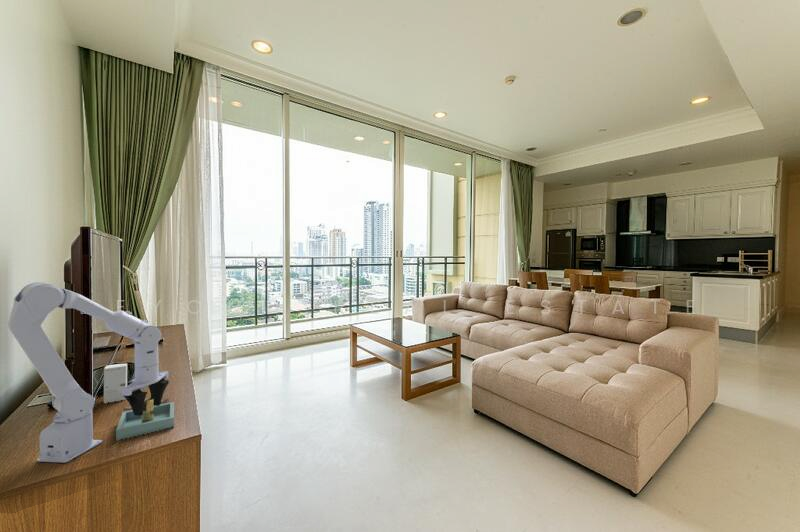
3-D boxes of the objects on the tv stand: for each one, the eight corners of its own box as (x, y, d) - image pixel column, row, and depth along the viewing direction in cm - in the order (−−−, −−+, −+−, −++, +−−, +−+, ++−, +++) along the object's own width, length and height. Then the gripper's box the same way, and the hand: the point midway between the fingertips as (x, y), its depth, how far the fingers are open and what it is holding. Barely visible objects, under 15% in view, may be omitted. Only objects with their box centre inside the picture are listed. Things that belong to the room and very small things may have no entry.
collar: (148, 413, 108) (148, 408, 108) (123, 412, 108) (123, 408, 108) (168, 402, 116) (168, 398, 116) (145, 401, 117) (145, 397, 117)
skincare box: (103, 404, 115) (102, 368, 115) (105, 399, 119) (105, 365, 118) (126, 399, 118) (125, 365, 118) (128, 395, 122) (127, 362, 122)
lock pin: (147, 425, 99) (147, 401, 99) (138, 424, 99) (138, 401, 99) (156, 420, 102) (156, 397, 102) (147, 419, 102) (147, 397, 102)
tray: (173, 427, 99) (173, 417, 99) (116, 440, 91) (116, 430, 91) (174, 410, 109) (174, 401, 109) (122, 421, 102) (122, 411, 102)
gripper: (153, 357, 108) (154, 399, 108) (111, 372, 93) (112, 421, 93) (174, 357, 107) (175, 400, 107) (135, 373, 93) (136, 422, 93)
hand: (147, 410), depth 100 cm, fingers open, 6 cm apart
